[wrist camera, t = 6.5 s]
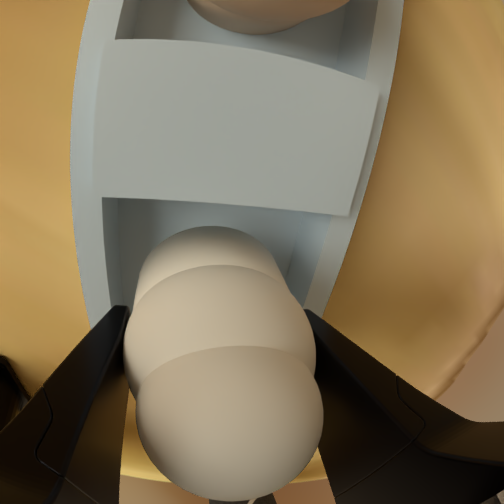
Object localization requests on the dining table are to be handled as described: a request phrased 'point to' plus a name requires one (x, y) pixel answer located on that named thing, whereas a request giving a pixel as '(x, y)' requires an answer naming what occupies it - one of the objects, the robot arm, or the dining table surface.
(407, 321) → the dining table surface
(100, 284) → the egg carton
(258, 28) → the brown egg
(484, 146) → the dining table surface
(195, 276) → the cream egg
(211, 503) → the coffee cup
